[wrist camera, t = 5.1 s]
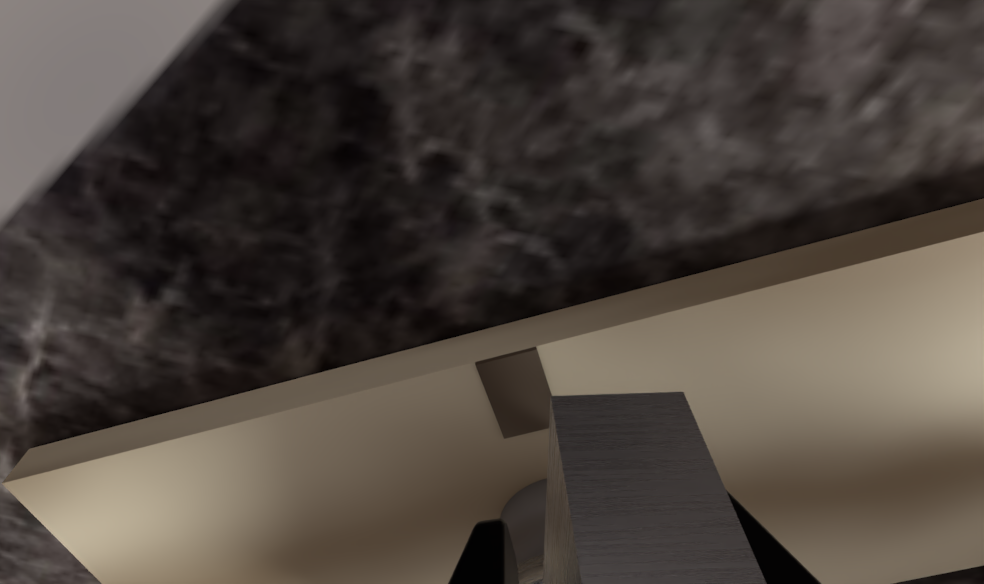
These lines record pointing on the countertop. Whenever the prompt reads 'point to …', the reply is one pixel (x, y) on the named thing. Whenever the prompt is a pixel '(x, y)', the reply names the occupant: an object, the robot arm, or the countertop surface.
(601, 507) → the grey rectangular bar
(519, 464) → the post board
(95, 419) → the countertop surface
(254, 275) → the countertop surface
